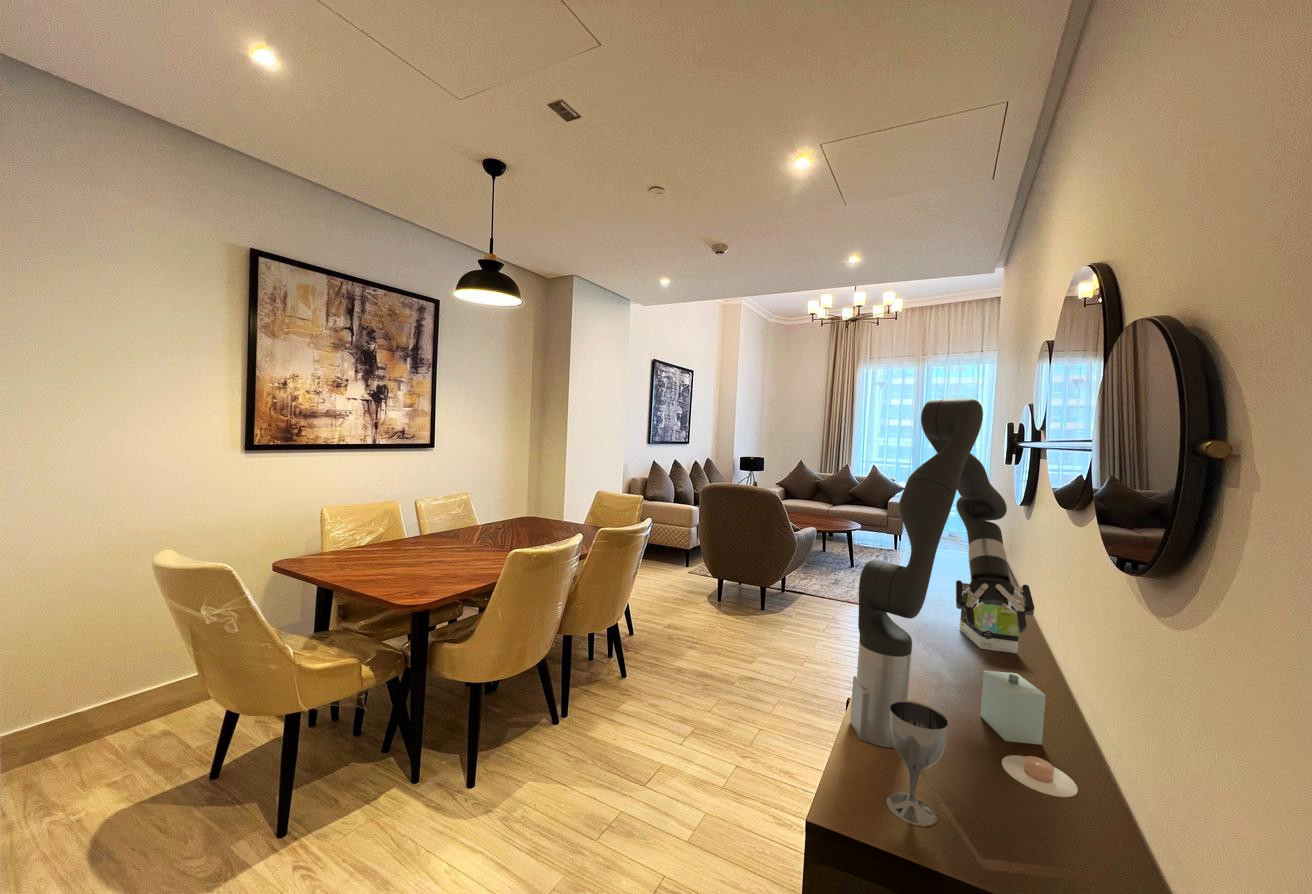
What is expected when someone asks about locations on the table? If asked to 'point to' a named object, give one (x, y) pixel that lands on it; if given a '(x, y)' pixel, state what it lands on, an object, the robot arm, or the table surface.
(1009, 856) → the table surface
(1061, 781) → the plate
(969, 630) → the tea box
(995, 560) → the robot arm
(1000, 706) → the cloche
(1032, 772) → the pink rounded disc
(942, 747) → the wine glass
